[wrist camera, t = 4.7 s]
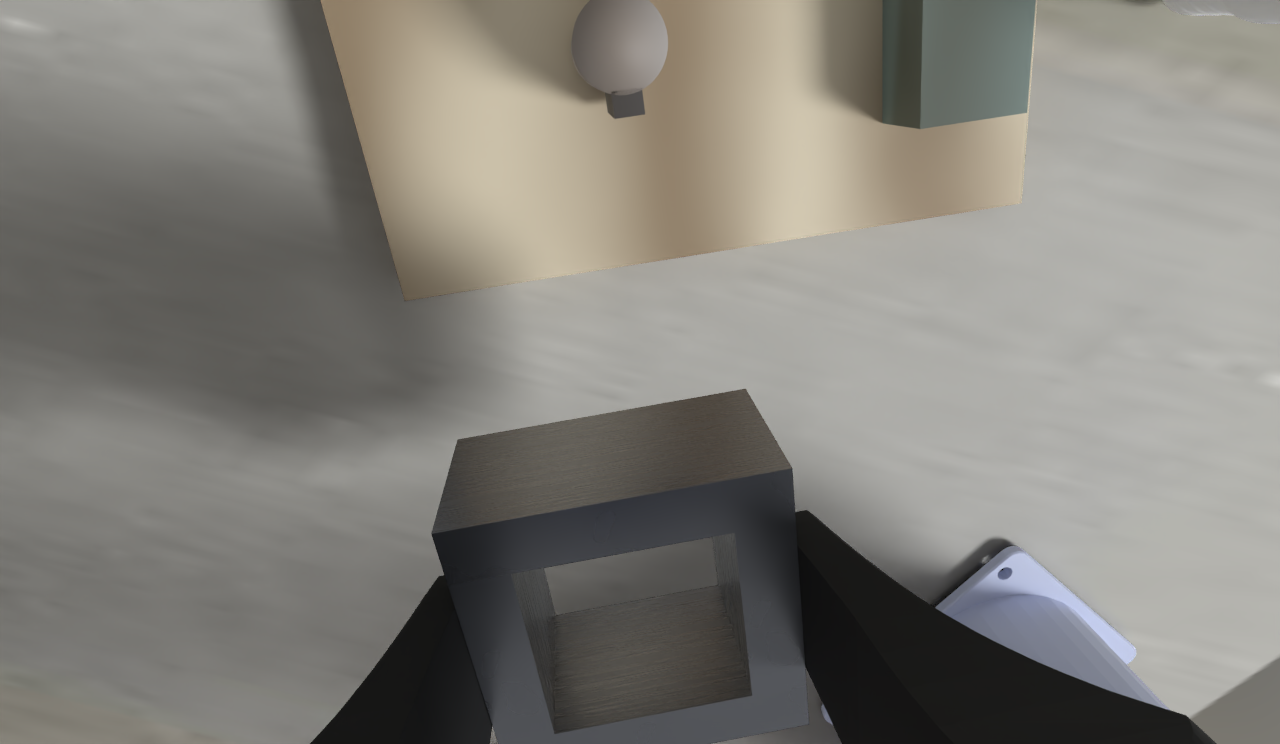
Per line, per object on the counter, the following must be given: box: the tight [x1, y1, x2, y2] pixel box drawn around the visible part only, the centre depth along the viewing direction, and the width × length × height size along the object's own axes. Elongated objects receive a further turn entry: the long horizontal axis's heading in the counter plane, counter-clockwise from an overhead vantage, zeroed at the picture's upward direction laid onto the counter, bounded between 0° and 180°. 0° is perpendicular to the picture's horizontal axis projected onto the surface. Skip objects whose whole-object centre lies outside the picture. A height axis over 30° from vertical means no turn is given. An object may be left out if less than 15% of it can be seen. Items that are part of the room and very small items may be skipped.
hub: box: [431, 389, 809, 744], centre depth 13 cm, size 6×6×3 cm
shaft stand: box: [320, 0, 1037, 301], centre depth 15 cm, size 16×10×4 cm, turn 98°
